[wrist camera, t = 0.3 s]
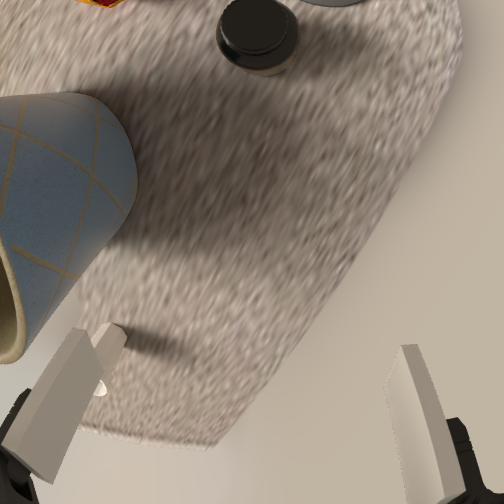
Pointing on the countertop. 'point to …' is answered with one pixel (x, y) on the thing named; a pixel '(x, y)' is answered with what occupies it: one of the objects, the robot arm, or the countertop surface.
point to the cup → (108, 352)
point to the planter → (55, 203)
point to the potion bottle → (102, 2)
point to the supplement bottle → (258, 36)
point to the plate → (331, 2)
